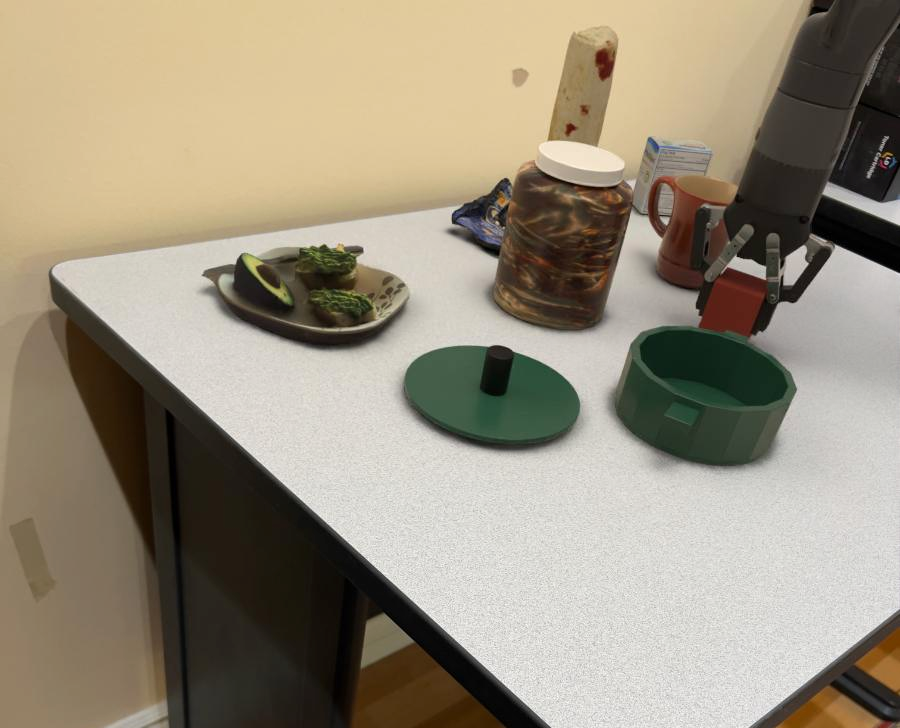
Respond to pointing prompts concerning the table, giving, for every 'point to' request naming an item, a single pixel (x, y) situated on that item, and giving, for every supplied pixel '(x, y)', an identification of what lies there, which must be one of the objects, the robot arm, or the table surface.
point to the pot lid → (492, 394)
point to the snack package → (486, 215)
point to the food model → (584, 86)
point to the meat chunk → (734, 302)
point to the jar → (563, 235)
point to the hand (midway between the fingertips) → (728, 322)
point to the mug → (687, 224)
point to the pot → (703, 394)
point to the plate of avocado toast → (310, 293)
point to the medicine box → (668, 168)
